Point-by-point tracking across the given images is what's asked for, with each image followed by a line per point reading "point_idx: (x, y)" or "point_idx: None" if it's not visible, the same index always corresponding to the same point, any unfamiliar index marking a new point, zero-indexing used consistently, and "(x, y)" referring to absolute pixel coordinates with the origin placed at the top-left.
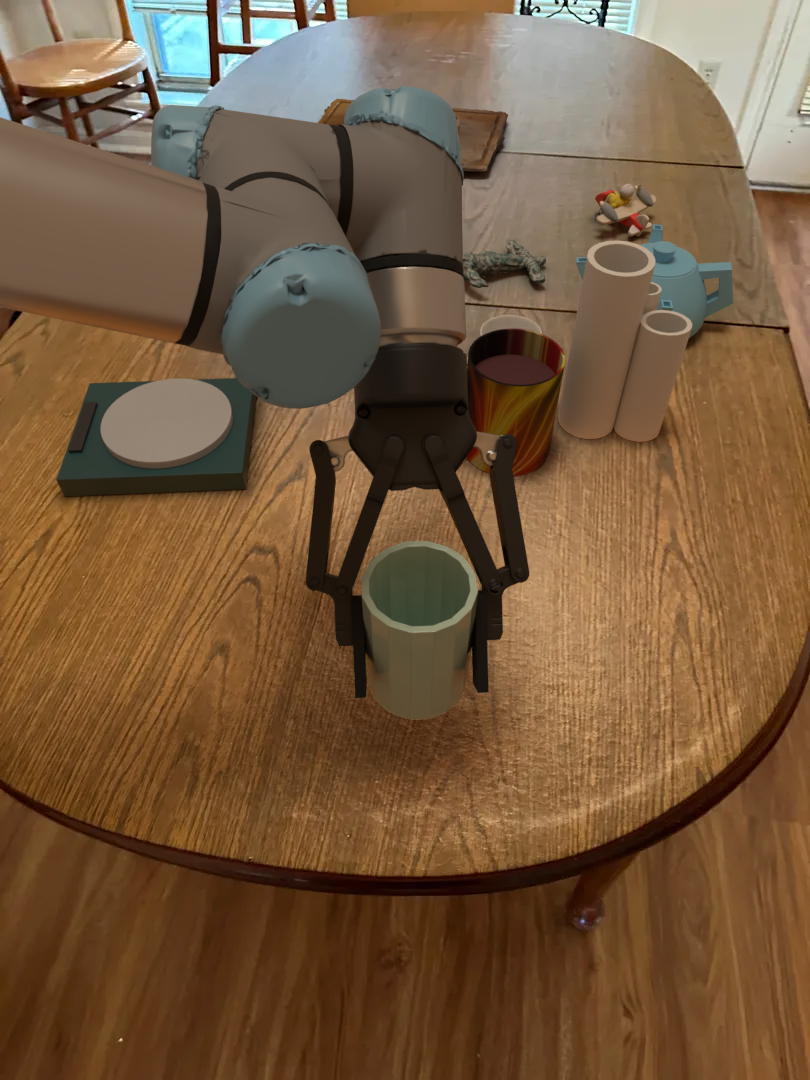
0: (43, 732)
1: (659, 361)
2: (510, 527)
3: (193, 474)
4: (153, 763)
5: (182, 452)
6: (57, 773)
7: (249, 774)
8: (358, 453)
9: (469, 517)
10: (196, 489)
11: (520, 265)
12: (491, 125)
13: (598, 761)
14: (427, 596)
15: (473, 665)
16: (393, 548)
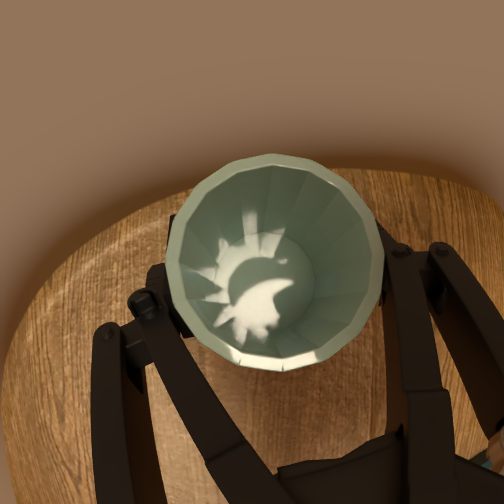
0: (499, 232)
1: None
2: (109, 402)
3: (485, 462)
4: (441, 221)
5: None
6: (481, 207)
7: (381, 223)
8: (490, 471)
9: (191, 415)
10: (476, 456)
11: None
12: None
13: (110, 283)
14: (267, 339)
15: None
16: (345, 336)
